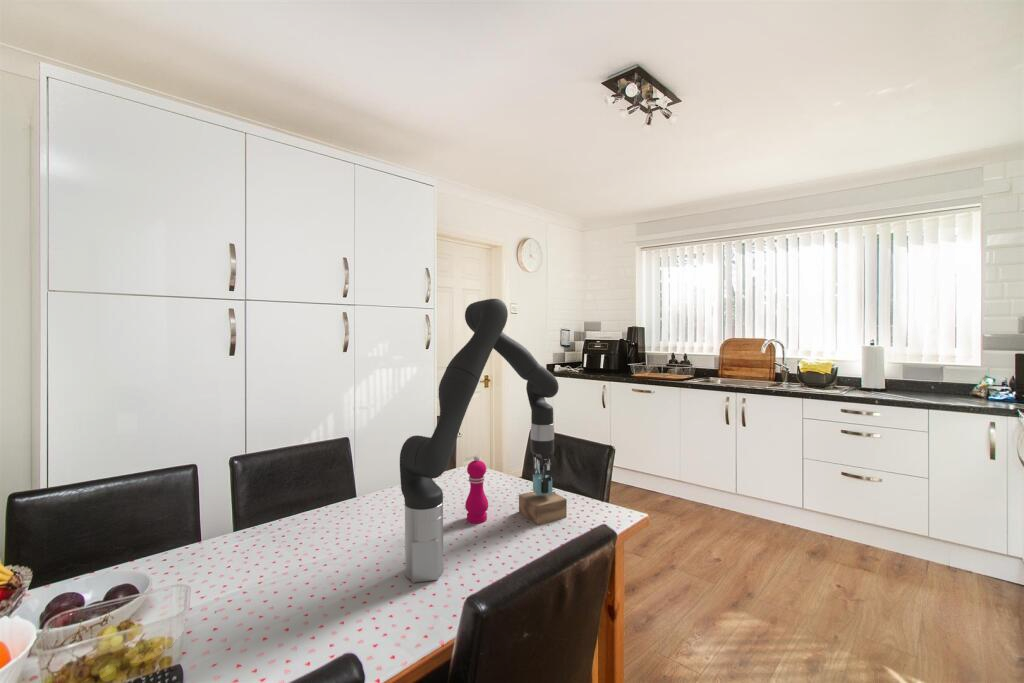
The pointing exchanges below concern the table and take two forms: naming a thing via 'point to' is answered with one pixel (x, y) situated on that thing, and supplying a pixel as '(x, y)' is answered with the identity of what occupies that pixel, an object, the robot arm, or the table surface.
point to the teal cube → (538, 485)
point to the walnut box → (542, 507)
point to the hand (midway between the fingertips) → (542, 489)
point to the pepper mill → (476, 492)
